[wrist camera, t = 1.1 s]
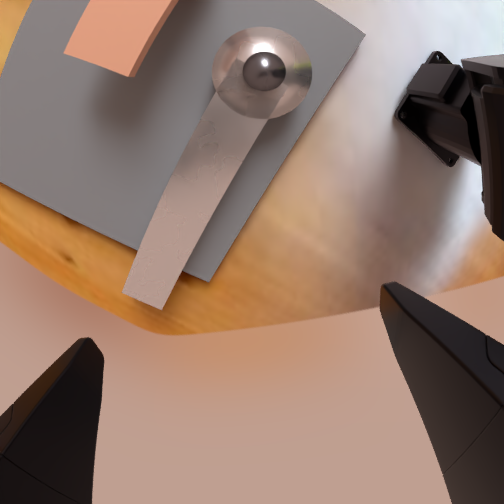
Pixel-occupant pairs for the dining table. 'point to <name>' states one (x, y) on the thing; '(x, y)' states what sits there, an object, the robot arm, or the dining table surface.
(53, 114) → the base plate
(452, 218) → the dining table surface
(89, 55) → the block
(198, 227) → the lever
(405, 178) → the dining table surface
